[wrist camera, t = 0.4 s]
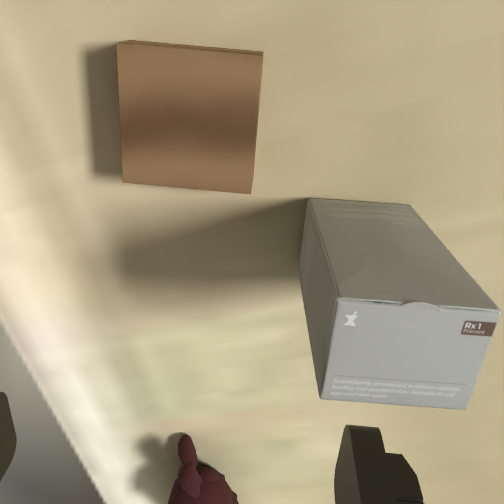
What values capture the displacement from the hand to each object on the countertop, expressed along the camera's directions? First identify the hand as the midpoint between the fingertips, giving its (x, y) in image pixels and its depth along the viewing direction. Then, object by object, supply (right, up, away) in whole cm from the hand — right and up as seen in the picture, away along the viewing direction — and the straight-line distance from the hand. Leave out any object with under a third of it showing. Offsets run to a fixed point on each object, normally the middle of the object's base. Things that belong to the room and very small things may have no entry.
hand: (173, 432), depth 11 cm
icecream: (-3, -20, +41) cm, 45 cm away
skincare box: (+10, +6, +27) cm, 29 cm away
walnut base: (-2, +14, +23) cm, 27 cm away
